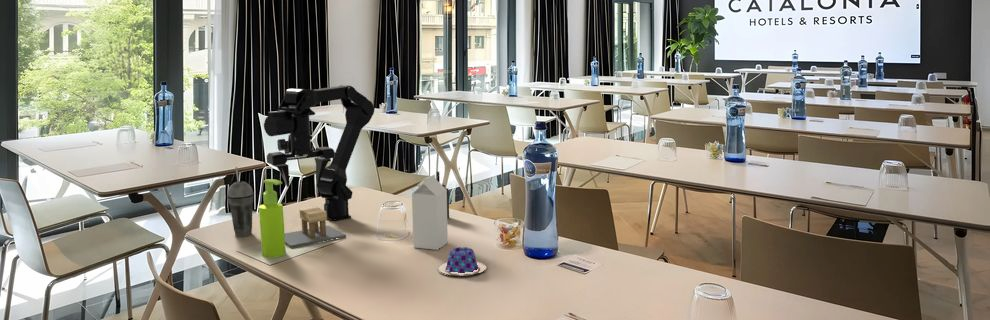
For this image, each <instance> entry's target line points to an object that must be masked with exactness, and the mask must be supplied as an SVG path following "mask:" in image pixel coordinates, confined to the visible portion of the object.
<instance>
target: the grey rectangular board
mask: <svg viewBox="0 0 990 320" xmlns="http://www.w3.org/2000/svg"><path fill="white" fill-rule="evenodd" d="M318 229H319V231H317V232H315V238H310V236H309V228H308V233H307V234H303V233H302V229H301V230H297V231H290V232H284V233H285V246H286V247H288V248H289V249H294V248H295V249H296V248H301V247H305V246H310V245H315V244H314V243H316V244H320V243H319V242H321V243H324V242H323V241H326V242H328V241H327V240H331V239H336V238H341V239H345V237H346V238H347V235H346V234H345V233H344V232H341V230H340V231H339V230H338V229H336V228H334V227H332V226H331V225H326V236H321V235H320V226H318ZM336 240H337V239H336ZM331 241H332V240H331Z"/></svg>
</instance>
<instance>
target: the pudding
mask: <svg viewBox="0 0 990 320" xmlns="http://www.w3.org/2000/svg"><path fill="white" fill-rule="evenodd" d="M477 261H478V260H477V258H476V254H475V251H474V249H472V248H469V247H467V246H465V247H464V246H463V247H462V246H461V247H459V246H458V247H455V248H452V249H451V250H450V251H449V254H448V257H447V261H446V262H447V266H446V269H445V270H449V272H458V273H465V272H473V271H474V270H477V269H479V268H478V265H477ZM446 262H443V263H441V264H440V265H438V267H437V271H438V272H439V273H441V272H440V270H439V267H440V266H441V265H442V264H444V263H446ZM479 262H480V263H482V264H484V265H485V266H486V269H485V271H486V270H487V265H486V264H485V263H483V262H481V261H479ZM449 272H448V273H449ZM441 274H442V275H446V274H443V273H441ZM446 276H447V275H446Z"/></svg>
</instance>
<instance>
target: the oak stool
mask: <svg viewBox="0 0 990 320" xmlns="http://www.w3.org/2000/svg"><path fill="white" fill-rule="evenodd" d="M299 219H301V230H302V233H303V234H307V233H308V229H309V236H310V238H315V232H317V231H319V229H318V227H320V235H321V236H326V226H327V225H326V223H327V222H326V221H327V220H328V219H327V214H326V211H324V209H323V208H321V207H318V206H311V207H310V206H309V207H306V208H305V207H304V208H300V209H299Z"/></svg>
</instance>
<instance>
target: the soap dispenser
mask: <svg viewBox="0 0 990 320" xmlns="http://www.w3.org/2000/svg"><path fill="white" fill-rule="evenodd" d="M262 183H264V184H265V189H266V191H265V190H264V192H263V193H262V195H263V197H262V199H263V204H261V205H259V206H258V211H259V212H258V214H259V215H258V216H259V226H260V227H259V228H260V240H261V241H260V242H261V254H262V257H264V258H270V259H271V258H273V259H274V258H280V257H283V256H285V255H286V254H287V253H286V252H287V249H286V245H285V233H286V232H285V222H284V221H285V218H284V207H283V204H282V203H279V202H278V192H277V191H275V190H274V185H275V186H279V185H282V184H283V181H281V180H279V179H275V178H274V179H273V178H270V179H269V178H268V179H264V180H262Z"/></svg>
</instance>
